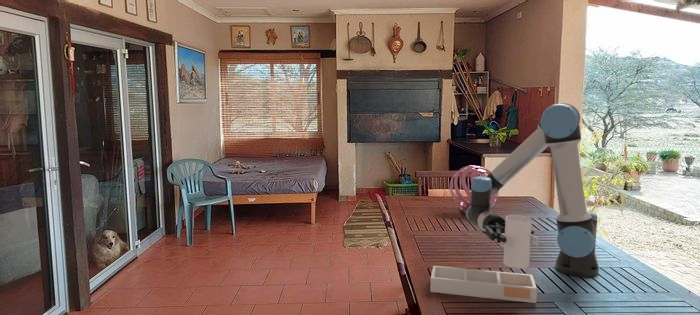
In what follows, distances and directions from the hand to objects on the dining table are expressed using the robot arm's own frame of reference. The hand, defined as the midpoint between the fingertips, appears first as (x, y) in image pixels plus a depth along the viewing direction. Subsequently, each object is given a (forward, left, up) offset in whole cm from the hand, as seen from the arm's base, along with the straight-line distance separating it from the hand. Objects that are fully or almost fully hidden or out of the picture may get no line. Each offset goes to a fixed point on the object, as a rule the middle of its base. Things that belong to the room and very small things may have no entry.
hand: (525, 242), depth 150 cm
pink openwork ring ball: (+15, -117, -20) cm, 120 cm away
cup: (+2, -4, -9) cm, 10 cm away
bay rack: (+13, -4, -19) cm, 24 cm away
